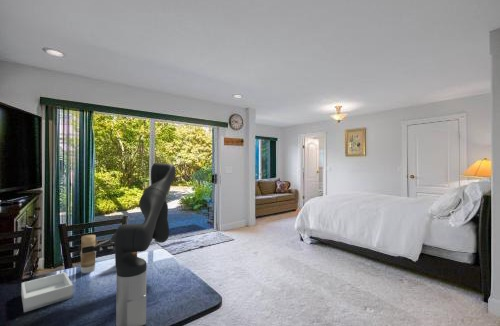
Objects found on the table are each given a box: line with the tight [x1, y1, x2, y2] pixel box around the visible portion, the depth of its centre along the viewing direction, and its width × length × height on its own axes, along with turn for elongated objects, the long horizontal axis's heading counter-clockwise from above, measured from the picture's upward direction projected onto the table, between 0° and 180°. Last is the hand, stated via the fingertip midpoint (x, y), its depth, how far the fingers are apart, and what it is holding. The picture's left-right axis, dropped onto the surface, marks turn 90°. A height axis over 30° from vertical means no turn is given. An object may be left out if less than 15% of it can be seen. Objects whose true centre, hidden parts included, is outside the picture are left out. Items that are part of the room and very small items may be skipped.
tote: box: [20, 271, 74, 313], centre depth 100 cm, size 18×15×5 cm
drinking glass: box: [80, 252, 97, 274], centre depth 124 cm, size 7×7×10 cm
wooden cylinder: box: [80, 234, 97, 268], centre depth 101 cm, size 5×5×12 cm
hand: (80, 249), depth 99 cm, fingers closed on wooden cylinder, 5 cm apart
